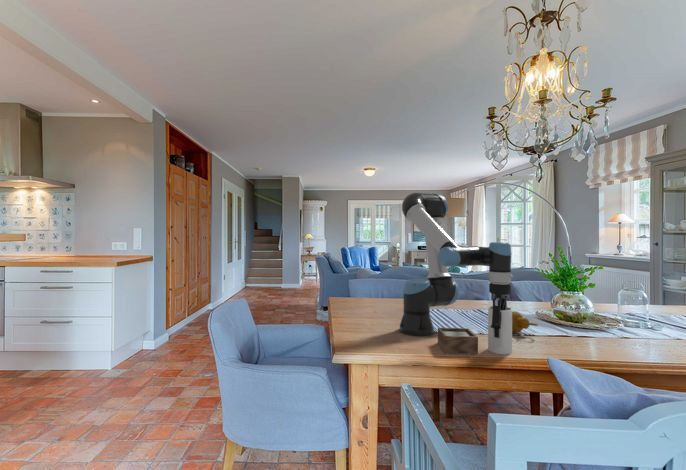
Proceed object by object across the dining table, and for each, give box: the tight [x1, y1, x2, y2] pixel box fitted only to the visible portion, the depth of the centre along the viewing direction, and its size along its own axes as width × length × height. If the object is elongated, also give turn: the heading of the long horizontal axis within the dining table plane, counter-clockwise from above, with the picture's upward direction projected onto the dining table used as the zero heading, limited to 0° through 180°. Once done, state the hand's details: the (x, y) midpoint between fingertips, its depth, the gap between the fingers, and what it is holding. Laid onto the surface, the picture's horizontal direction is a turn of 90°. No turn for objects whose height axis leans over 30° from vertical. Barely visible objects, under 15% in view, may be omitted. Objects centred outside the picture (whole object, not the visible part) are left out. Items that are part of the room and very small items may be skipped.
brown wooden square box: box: [437, 327, 479, 355], centre depth 130 cm, size 12×12×6 cm
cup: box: [487, 305, 513, 355], centre depth 128 cm, size 8×8×16 cm
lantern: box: [512, 311, 539, 334], centre depth 154 cm, size 9×9×25 cm
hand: (499, 342), depth 128 cm, fingers open, 9 cm apart
